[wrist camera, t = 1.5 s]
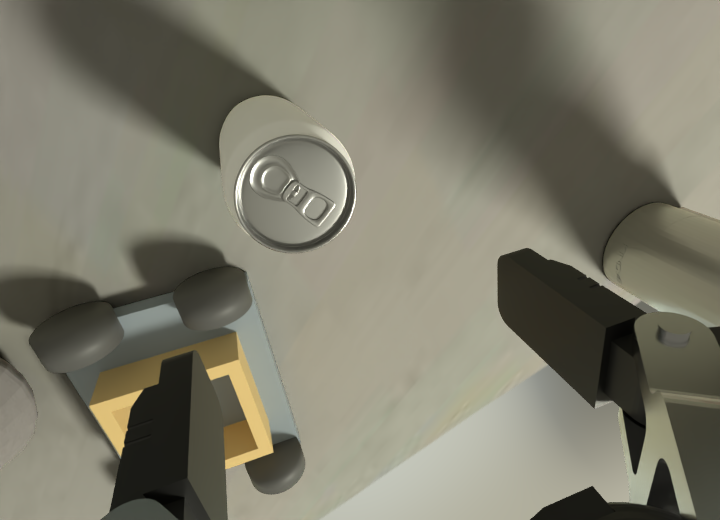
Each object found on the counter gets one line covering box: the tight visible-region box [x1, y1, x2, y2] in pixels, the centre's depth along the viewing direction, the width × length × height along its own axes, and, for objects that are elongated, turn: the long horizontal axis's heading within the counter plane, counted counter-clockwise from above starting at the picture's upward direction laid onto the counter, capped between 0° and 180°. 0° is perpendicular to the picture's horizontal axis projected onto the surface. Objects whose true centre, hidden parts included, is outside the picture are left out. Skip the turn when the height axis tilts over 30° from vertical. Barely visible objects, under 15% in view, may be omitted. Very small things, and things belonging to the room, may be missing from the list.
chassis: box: [29, 267, 305, 494], centre depth 35 cm, size 14×20×5 cm
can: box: [219, 95, 356, 253], centre depth 25 cm, size 6×6×12 cm
